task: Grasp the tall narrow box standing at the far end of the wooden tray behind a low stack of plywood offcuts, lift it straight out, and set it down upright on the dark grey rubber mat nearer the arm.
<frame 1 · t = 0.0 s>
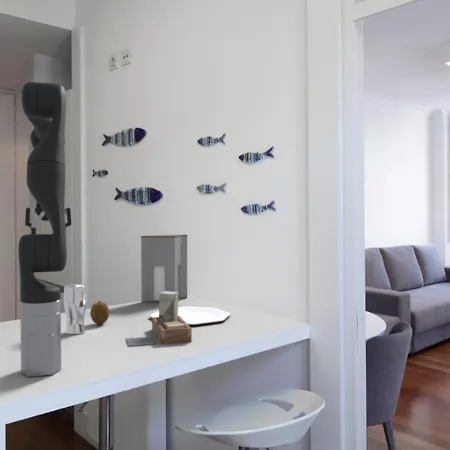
hand: (48, 239, 163), 29 cm above the breakfast bar, fingers open, 8 cm apart
wooden tray: (170, 335, 154), on the breakfast bar
fruit: (99, 325, 168), on the breakfast bar
beer glass: (75, 333, 157), on the breakfast bar
mat: (140, 341, 146), on the breakfast bar
cabinet: (168, 302, 210), on the breakfast bar
offcut a: (173, 340, 150), resting in wooden tray, touching offcut b
plate: (190, 319, 180), on the breakfast bar
box: (168, 332, 158), resting in wooden tray
offcut b: (173, 331, 150), point 2 cm above the breakfast bar, touching offcut a
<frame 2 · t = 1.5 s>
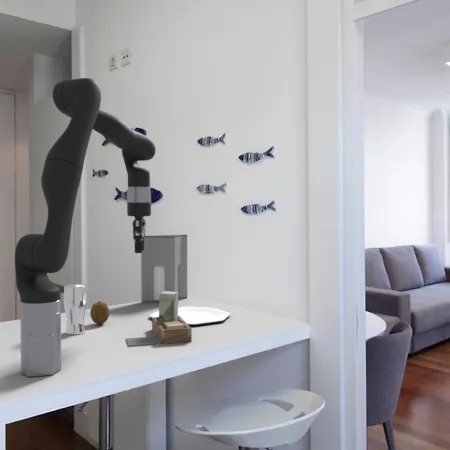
hand: (139, 251, 159), 26 cm above the breakfast bar, fingers open, 8 cm apart
offcut a: (173, 340, 150), resting in wooden tray
offcut b: (173, 331, 150), point 2 cm above the breakfast bar
everything else where it was.
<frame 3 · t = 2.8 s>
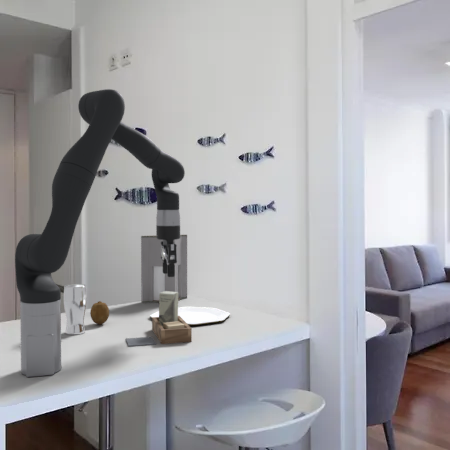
hand: (168, 275, 157), 18 cm above the breakfast bar, fingers open, 8 cm apart
offcut a: (173, 340, 150), resting in wooden tray, touching offcut b
offcut b: (173, 331, 150), point 2 cm above the breakfast bar, touching offcut a
everything else where it was.
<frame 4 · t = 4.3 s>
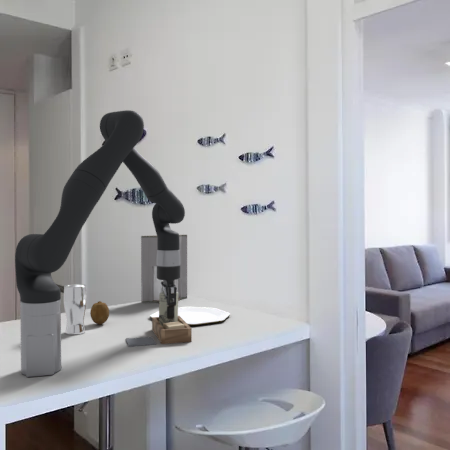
hand: (168, 316, 158), 5 cm above the breakfast bar, fingers closed on box, 6 cm apart
box: (168, 332, 158), resting in wooden tray, touching gripper
everything else where it was.
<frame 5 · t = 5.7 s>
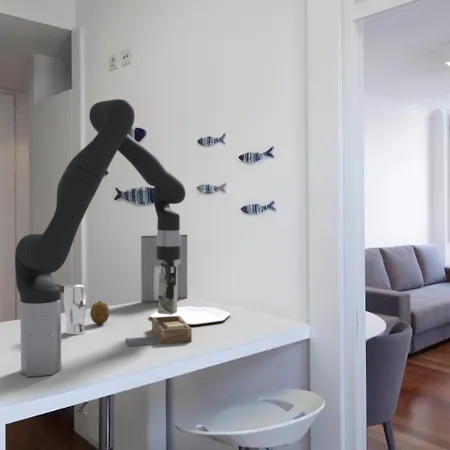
hand: (167, 296, 157), 11 cm above the breakfast bar, fingers closed on box, 6 cm apart
offcut a: (173, 340, 150), resting in wooden tray
box: (167, 313, 158), point 6 cm above the breakfast bar, touching gripper
offcut b: (173, 332, 149), point 2 cm above the breakfast bar
everything else where it was.
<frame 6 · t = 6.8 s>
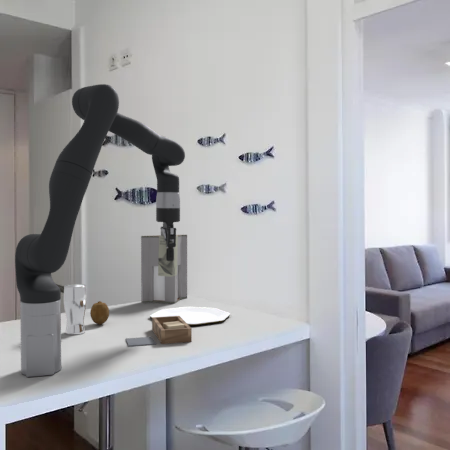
hand: (167, 259, 157), 23 cm above the breakfast bar, fingers closed on box, 6 cm apart
box: (168, 276, 157), point 18 cm above the breakfast bar, touching gripper
everything else where it was.
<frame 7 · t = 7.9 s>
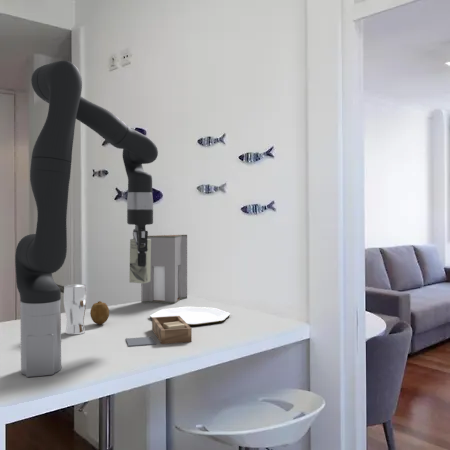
hand: (140, 264, 146), 23 cm above the breakfast bar, fingers closed on box, 6 cm apart
offcut a: (174, 340, 150), resting in wooden tray, touching offcut b
box: (140, 283, 146), point 18 cm above the breakfast bar, touching gripper
offcut b: (173, 332, 150), point 2 cm above the breakfast bar, touching offcut a
everything else where it was.
when the fingers open (7 cm above the breakfast bar, at t = 11.3 s): box drops 1 cm, resting on mat.
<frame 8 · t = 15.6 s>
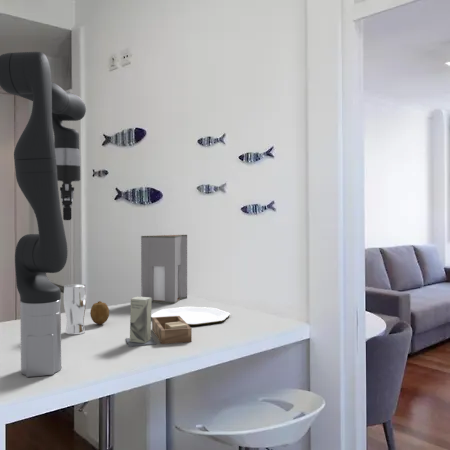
hand: (67, 219, 146), 36 cm above the breakfast bar, fingers open, 8 cm apart
box: (140, 341, 146), resting on mat
everything else where it was.
at the end: box inside the target area (0.2 cm from its centre), resting on mat; box tilted 0°; the gripper is holding nothing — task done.
